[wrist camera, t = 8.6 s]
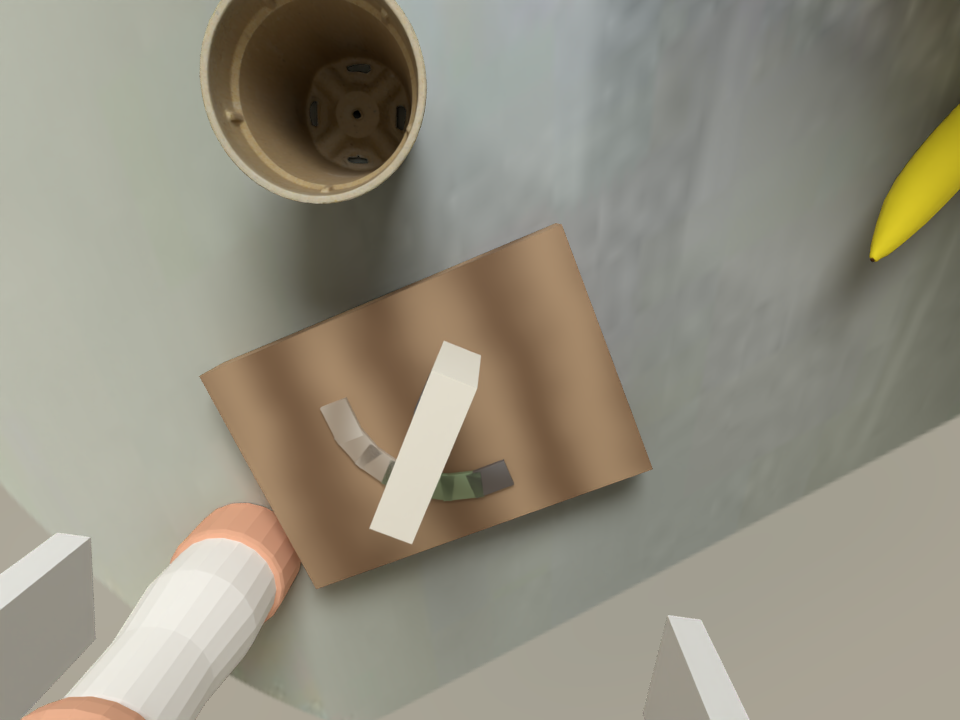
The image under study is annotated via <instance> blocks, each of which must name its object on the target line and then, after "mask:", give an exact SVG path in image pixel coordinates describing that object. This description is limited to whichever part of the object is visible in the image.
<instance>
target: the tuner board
mask: <svg viewBox="0 0 960 720" xmlns="http://www.w3.org/2000/svg"><path fill="white" fill-rule="evenodd" d="M444 341H446V342H448V343H451V344H453V345H456V346H458V347H461V348H464V349H466V350H469V351H471V352H474V353H476V354H479V355H481V361H480V369H479V378H478V387H477V390H476V393H475V395H474V397H473V400H472V402H471V405H470V407H469V409H468V412H467V414H466V417H465V419H464V421H463V424H462V426H461V428H460V431H459V433H458V436H457V438H456V440H455V443H454V445H453V448H452V450H451V452H450V455H449V457H448V459H447V462H446V464H445V467H444V469H443V471H442V474H441V476H440V479H439V481H438V483H437V486H436V488H435V490H434V493H433V495H432V498H431V500H430V502H429V505H428V507H427V510H426V512H425V514H424V517H423V519H422V521H421V524H420V526H419V529H418V531H417V533H416V536H415V538H414V541H413V543H412V544H410V543H407V542H404V541H402V540H399V539H396V538H393V537H391V536H388V535H385V534H383V533H380V532H377V531H375V530H372V529H369V528H370V525H371V523H372V520H373V518H374V515H375V513H376V510H377V508H378V505H379V503H380V500H381V498H382V495H383V492H384V490H385V487H386V485H387V482H388V480H389V477H390V475H391V472H392V470H393V467H394V465H395V462H396V459H397V457H398V454H399V452H400V449H401V447H402V444H403V442H404V439H405V437H406V434H407V432H408V429H409V427H410V424H411V421H412V419H413V416H414V410H415V407H416V404H417V402H418V400H419V397H420V395H421V392H422V390H423V388H424V385H425V383H426V380H427V378H428V376H429V373H430V372H431V370H432V368H433V366H434V363H435V361H436V359H437V356H438V354H439V351H440V349H441V346H442V344H443V342H444ZM200 378H201V380H202V382H203V384H204V386H205V387H206V389H207V391H208V393H209V395H210V397H211V398H212V400H213V402H214V404H215V406H216V407H217V409H218V411H219V413H220V415H221V417H222V418H223V420H224V422H225V424H226V426H227V427H228V429H229V431H230V433H231V435H232V437H233V438H234V440H235V442H236V444H237V446H238V447H239V449H240V451H241V453H242V455H243V457H244V458H245V460H246V462H247V464H248V466H249V467H250V469H251V471H252V473H253V475H254V477H255V478H256V480H257V482H258V484H259V486H260V488H261V489H262V491H263V493H264V495H265V497H266V498H267V500H268V502H269V504H270V506H271V508H272V509H273V511H274V513H275V515H276V517H277V518H278V520H279V522H280V524H281V526H282V528H283V529H284V531H285V533H286V535H287V537H288V538H289V540H290V542H291V544H292V546H293V548H294V549H295V551H296V553H297V555H298V557H299V558H300V560H301V562H302V564H303V566H304V568H305V569H306V571H307V573H308V575H309V577H310V579H311V580H312V582H313V584H314V586H315V588H316V589H318V588H321V587H324V586H327V585H329V584H332V583H335V582H338V581H341V580H344V579H346V578H349V577H352V576H355V575H358V574H360V573H363V572H366V571H369V570H372V569H374V568H377V567H380V566H383V565H386V564H388V563H391V562H394V561H397V560H400V559H402V558H405V557H408V556H411V555H414V554H416V553H419V552H422V551H425V550H428V549H430V548H433V547H436V546H439V545H442V544H444V543H447V542H450V541H453V540H456V539H458V538H461V537H464V536H467V535H470V534H472V533H475V532H478V531H481V530H484V529H486V528H489V527H492V526H495V525H498V524H500V523H503V522H506V521H509V520H512V519H514V518H517V517H520V516H523V515H526V514H528V513H531V512H534V511H537V510H540V509H542V508H545V507H548V506H551V505H554V504H556V503H559V502H562V501H565V500H568V499H570V498H573V497H576V496H579V495H582V494H585V493H587V492H590V491H593V490H596V489H599V488H601V487H604V486H607V485H610V484H613V483H615V482H618V481H621V480H624V479H627V478H629V477H632V476H635V475H638V474H641V473H643V472H646V471H649V470H652V469H653V468H652V466H651V463H650V460H649V458H648V455H647V452H646V450H645V447H644V444H643V442H642V439H641V436H640V434H639V431H638V428H637V425H636V423H635V420H634V417H633V415H632V412H631V409H630V407H629V404H628V401H627V399H626V396H625V393H624V391H623V388H622V385H621V383H620V380H619V377H618V374H617V372H616V369H615V366H614V364H613V361H612V358H611V356H610V353H609V350H608V348H607V345H606V342H605V340H604V337H603V334H602V331H601V329H600V326H599V323H598V321H597V318H596V315H595V313H594V310H593V307H592V305H591V302H590V299H589V297H588V294H587V291H586V289H585V286H584V283H583V280H582V278H581V275H580V272H579V270H578V267H577V264H576V262H575V259H574V256H573V254H572V251H571V248H570V246H569V243H568V240H567V237H566V235H565V232H564V229H563V227H562V224H557V223H555V224H553V225H551V226H548V227H546V228H543V229H541V230H539V231H536V232H534V233H532V234H529V235H527V236H524V237H522V238H520V239H517V240H515V241H512V242H510V243H508V244H505V245H503V246H501V247H498V248H496V249H493V250H491V251H489V252H486V253H484V254H481V255H479V256H477V257H474V258H472V259H470V260H467V261H465V262H462V263H460V264H458V265H455V266H453V267H450V268H448V269H446V270H443V271H441V272H439V273H436V274H434V275H431V276H429V277H427V278H424V279H422V280H419V281H417V282H415V283H412V284H410V285H408V286H405V287H403V288H400V289H398V290H396V291H393V292H391V293H388V294H386V295H384V296H381V297H379V298H377V299H374V300H372V301H369V302H367V303H365V304H362V305H360V306H358V307H355V308H353V309H350V310H348V311H346V312H343V313H341V314H338V315H336V316H334V317H331V318H329V319H327V320H324V321H322V322H319V323H317V324H315V325H312V326H310V327H307V328H305V329H303V330H300V331H298V332H296V333H293V334H291V335H288V336H286V337H284V338H281V339H279V340H276V341H274V342H272V343H269V344H267V345H265V346H262V347H260V348H257V349H255V350H253V351H250V352H248V353H245V354H243V355H241V356H238V357H236V358H234V359H231V360H229V361H226V362H224V363H222V364H220V365H218V366H217V367H215V368H213V369H211V370H209V371H208V372H206V373H204V374H202V375H200Z"/></svg>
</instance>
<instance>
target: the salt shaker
mask: <svg viewBox="0 0 960 720" xmlns="http://www.w3.org/2000/svg"><path fill="white" fill-rule="evenodd" d="M300 564H301V560H300V558H299V557H298V555H297V553H296V551H295V549H294V548H293V546H292V544H291V542H290V540H289V538H288V537H287V535H286V533H285V531H284V529H283V528H282V526H281V524H280V522H279V520H278V518H277V517H276V515H275V513H274V512H273V511H271V510H269V509H267V508H266V507H262V506H258V505H254V504H250V503H238V504H229V505H227V506H224V507H221V508H218V509H216V510H215V511H213V512H212V513H211V514H210V515H209V516H207V517H206V518H205V519H204V520H203V521H202V522H201V523H200V524H199V525H198V526H197V527H196V528H195V529H194V530H193V531H192V532H191V534H190V535H189V536H188V537H187V538H186V539H185V540H184V541H183V542H182V543H181V544H180V545H179V546H178V548H177V550H176V551H175V553H174V555H173V557H172V559H171V562H170V565H169V566H168V567H167V568H166V569H165V570H164V571H163V572H162V573H161V574H160V575H159V576H158V577H157V578H156V579H155V580H154V581H153V582H152V583H151V584H150V585H149V586H148V587H147V589H146V590H145V592H144V593H143V595H142V597H141V598H140V600H139V601H138V603H137V604H136V606H135V608H134V609H133V611H132V612H131V614H130V616H129V617H128V619H127V620H126V622H125V623H124V625H123V627H122V628H121V630H120V631H119V633H118V635H117V636H116V638H115V639H114V641H113V642H112V643H111V644H110V646H109V647H108V648H107V649H106V650H105V651H104V652H103V654H102V655H101V656H100V657H99V658H98V659H97V660H96V661H95V663H94V664H93V665H92V666H91V667H90V668H89V669H88V671H87V672H86V673H85V674H84V675H83V676H82V678H81V679H80V680H79V681H78V682H77V683H76V684H75V685H74V687H73V688H72V689H71V690H70V691H69V692H68V693H67V695H66V696H65V697H64V698H63V699H61V700H58V701H55V702H52V703H49V704H47V705H44V706H42V707H40V708H37V709H36V710H34V711H33V712H31V713H29V714H28V715H26V716H25V717H23V718H22V719H21V720H196V718H197V716H198V714H199V713H200V711H201V710H202V708H203V706H204V705H205V703H206V702H207V701H208V699H209V698H210V697H211V696H212V695H213V693H214V692H215V691H216V690H217V689H218V687H219V686H220V685H221V684H222V683H223V681H224V680H225V679H226V678H227V677H228V676H229V674H230V673H231V672H232V671H233V670H234V668H235V667H236V666H237V665H238V664H239V662H240V661H241V660H242V659H243V658H244V656H245V655H246V653H247V652H248V650H249V649H250V647H251V646H252V644H253V642H254V640H255V638H256V637H257V635H258V633H259V631H260V629H261V627H262V625H263V623H264V622H265V621H267V620H268V619H269V618H271V617H272V616H273V615H274V614H275V612H276V611H277V609H278V608H279V606H280V604H281V603H282V601H283V599H284V597H285V596H286V594H287V592H288V590H289V588H290V587H291V585H292V583H293V581H294V579H295V578H296V576H297V574H298V572H299V569H300Z"/></svg>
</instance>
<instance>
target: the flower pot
mask: <svg viewBox="0 0 960 720" xmlns="http://www.w3.org/2000/svg"><path fill="white" fill-rule="evenodd" d="M354 64H355V65H356V64H357V65H358V64H367V65H370V69H371V70H370V71H369V72H368V73H363V72H358V71H357V72H350V71H348V69H347V67H348V66H352V65H354ZM200 81H201V90H202V97H203V101H204V105H205V110H206V112H207V116H208V119H209V121H210V124H211V126H212V129H213V131H214V133H215V135H216V137H217V138H218V141H219V142H220V144H221V145H222V147H223V148H224V150H225V152H226V153H227V155H228V156H229V157H230V158H231V159H232V161H233V162H234V163H235V164H236V165H237V166H238V167H239V168H240V169H241V170H242V171H243V172H244V173H245V174H246V175H247V176H248V177H249V178H250V179H252V180H253V181H254V182H256V183H257V184H258V185H260V186H262V187H263V188H265V189H267V190H268V191H270V192H272V193H274V194H277V195H279V196H282V197H284V198H287V199H290V200H294V201H298V202H303V203H314V204H328V203H337V202H342V201H347V200H351V199H354V198H356V197H359V196H361V195H364V194H366V193H368V192H369V191H371V190H373V189H375V188H376V187H378V186H379V185H380V184H382V183H383V182H384V181H386V180H387V179H388V178H389V177H390V176H391V175H392V174H393V173H394V172H395V171H396V170H397V169H398V168H399V166H400V165H401V164H402V163H403V161H404V160H405V159H406V157H407V155H408V154H409V152H410V150H411V148H412V146H413V145H414V143H415V141H416V138H417V135H418V133H419V130H420V128H421V125H422V121H423V116H424V112H425V105H426V94H427V83H426V72H425V65H424V60H423V56H422V52H421V48H420V45H419V42H418V39H417V37H416V34H415V32H414V30H413V27H412V25H411V24H410V22H409V20H408V19H407V17H406V15H405V13H404V12H403V10H402V9H401V7H400V6H399V5H398V4H397V2H396V1H395V0H221V1H220V2H219V4H218V6H217V7H216V9H215V11H214V13H213V15H212V16H211V18H210V20H209V23H208V25H207V29H206V32H205V35H204V39H203V42H202V48H201V55H200ZM314 101H315V102H317V122H318V124H317V125H316V126H313V125H312V122H311V120H310V106H311V104H312V103H313V102H314ZM400 106H403V107H404V108H405V110H406V118H405V122H404V128H403V130H401V129H398V128H397V127H396V124H397V107H400ZM356 110H358V111H359V112H360V114H361V116H360V118H357V119H356V118H355V117H354V116H353V113H354V112H355V111H356ZM358 155H359V157H361V158H364V159H365V158H366V159H367V161H368V163H352V162H350V161H349V160H348V158H349V157H351V158H356V157H357V156H358Z"/></svg>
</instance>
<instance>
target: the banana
mask: <svg viewBox="0 0 960 720" xmlns="http://www.w3.org/2000/svg"><path fill="white" fill-rule="evenodd" d="M959 189H960V104H959V105H958V106H957V107H956V108H955V109H954V110H953V111H952V112H951V113H950V114H949V115H948V116H947V117H946V118H945V119H944V120H943V121H942V122H941V124H940V125H939V126H938V127H937V128H936V129H935V130H934V131H933V132H932V133H931V135H930V136H929V137H928V138H927V139H926V141H925V142H924V143H923V144H922V145H921V147H920V148H919V149H918V150H917V151H916V153H915V154H914V155H913V156H912V158H911V159H910V160H909V162H908V163H907V164H906V166H905V167H904V169H903V170H902V171H901V173H900V174H899V175H898V177H897V178H896V180H895V181H894V183H893V185H892V187H891V189H890V191H889V193H888V194H887V196H886V198H885V200H884V202H883V205H882V208H881V211H880V214H879V217H878V220H877V223H876V227H875V231H874V234H873V238H872V242H871V246H870V247H871V249H870V255H869V257H870V260H871V261H872V262H877V261H878V260H880V259H881V258H883V257H885V256H887V255H889V254H890V253H892V252H893V251H894V250H895V249H896V248H898V247H899V246H900V245H901V244H903V243H904V242H905V241H906V240H908V239H909V238H910V237H911V236H912V235H913V234H914V233H916V232H917V231H918V230H919V229H920V228H921V227H922V226H924V225H925V224H926V223H927V222H928V221H929V220H930V219H931V218H932V217H933V216H934V215H935V214H936V213H937V212H938V211H939V210H940V209H941V208H942V207H943V206H944V205H945V204H946V203H947V202H948V201H949V200H950V199H951V198H952V197H953V196H954V195H955V193H956V192H957V191H958V190H959Z"/></svg>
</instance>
